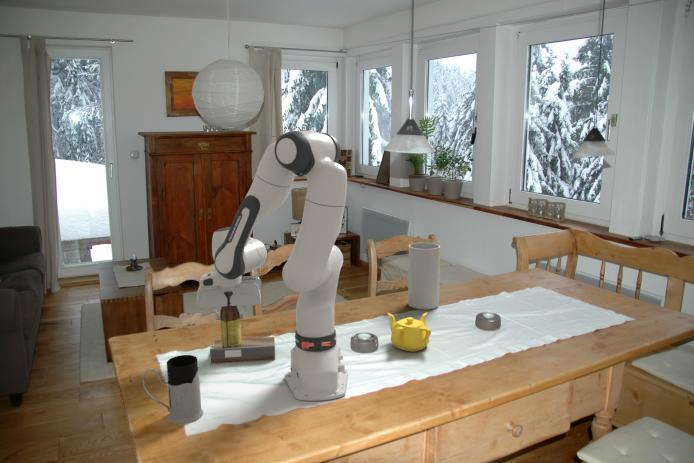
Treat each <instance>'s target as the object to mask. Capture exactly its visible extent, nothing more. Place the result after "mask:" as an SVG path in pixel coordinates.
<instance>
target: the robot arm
mask: <svg viewBox="0 0 694 463" xmlns="http://www.w3.org/2000/svg"><path fill="white" fill-rule="evenodd" d="M341 155H342V149H341V145H340V142H339V141H338V139H337V138H336V137H335V136H333V135H331V134H330V133H326V132H317V131H313V130H291V131H287V132H284V133H283V134H281V135H279V137H278V138H277V139H276V141H275V142H272V143H270V144H269V145H268V146H267V148H266V149H265V151H264V153H263V154H262V156H261V159H260V161H259V164H258V166H257V168H256V172H255V176H254V177H253V181H252V183H251V184H250V188H249V189H248V192H247V193H246V195H245V197H244V199H242V202H241V203H240V205H239V207H238V209H237V211H236V213H235V215H234V218H233V221H232V222H231V225H230V226H227V227H222V228H218V229H216V230H214V232H213V234H212V239H211V253H212V254H211V255H212V258H213V266H212V267H213V268H212V270H213V271H211V272H207V273H204V274H202V275H201V276H200V278H199V281H198V282H199V283H198V284H199V287H198V289H197V291H196V307H198V308H200V309H203V308H211V311H212V313H213V314H214V315H215V320H216V321H220V320H221V314H220V312H218V311H217V308H222V307H225V306H227V303H228V301H227V297H226V296H225V295H224V292H229V291H232V292H233V294H232V296H231V297H230V303H231V304H230V305H231V306H237V307H240V306H242V311H239V316H240V320H241V319H245V313H246V311H247V309H248V306H258V305H260V303H261V302H262V296H261V295H262V294H261V288H262V279H261V278H260V277H258V276H256V275H252V276H251V275H250V276H249V275H247V276H245V275H246V274H248V273H250V272H252V271H254V270H257V269H260V268H261V267H263V266H264V265H265V264H266V263H267V262H268V257H269V254H268V250H267V249H268V248H267V246H266V245H265V244H264V242H263V241H261V240H260V239H257V238H253V237H251V235H252V234H253V231H254V228H255V226H257V224H258V223H259V222H260V221H261V220H262V219H263V218H265V217H266V216H267V215H268V214H271V213H272V212H274V211H276V210H277V209H279V208H281V207H282V206H283V205H284V203H285V202H286V200H287V198H288V196H289V195H290V193H291V190H292V188H293V184H294V182H295V181H294V180H295V177H296V176H298V177H304V176H305V177H306V181H307V190H306V196H305V201H304V205H303V206H304V207H303V211H302V212H303V213H302V219H301V224H300V228H299V231H298V233H297V236H296V239H295V241H294V243H293V247H292V250H291V252H290V254H289V257H288V259H287V261H286V263H285V264H284V266H283V268H282V272H281V274H282V275H281V276H282V281H283V283H284V284H285V286H286V287H287V288H288V289H289V290H290V291H293V292H295V293H298V294H299V297H298V299H297V302H296V306H295V309H296V310H295V314H296V316H295V318H296V330H295V332H294V339H295V341H294V342H295V345H294V346H293V348H292V349H291V350H290V371H288V372H285V374H284V377H283V378H284V380H285V381H286V384H287V385H288V387H289V389H290V391H291V393H292V395H293V397H294V398H295V399H296V400H298V401H306V402H307V401H308V402H309V401H310V402H313V401H314V402H315V401H316V402H317V401H318V402H319V401H328V400H334V399H339V398H343V397H344V396H346V392H347V386H348V379H349V378H348V376H349V370H348V369H346V368H345V367H346V366H345V364H344V363H342V360H344V356H343V354H342V352H341V349H342V348H341V346H339V344H337V332H336V328H335V302H336V296H337V291H338V284H339V280H340V279H339V278H340V272H341V269H342V267H343V263H344V255H343V253H342V251H341V249H340V248H339V247H338V246H337V245H335V243H336V240H337V238H338V237H339V235H340V232H341V228H342V223H343V222H342V221H343V217H344V213H345V206H346V202H347V201H346V200H347V194H348V193H347V192H348V173H347V170H346V168H345V167H344V166H343V165H341V164H340V163H338V162H339V160H340V159H341ZM243 275H244V276H243Z"/></svg>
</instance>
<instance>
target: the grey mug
mask: <svg viewBox="0 0 694 463" xmlns="http://www.w3.org/2000/svg"><path fill="white" fill-rule="evenodd" d="M149 372H155V373H157V375H158V377H159V382H160V384H161V385H167V395H168V405H167V404H166V403H164V402H162V401H160V400H158V399H157V398H155V397H154V396H152V394H150V392H149V391H148V390H147V387H146V385H145V380H144V379H145V378H144V377H145V375H146V374H147V373H149ZM166 372H167V381H165V382H164V381H163V380H162V375H161V373H160V371H159V370H157V369H155V368H150V369H149V368H148V369H147V370H146V371H144V372H143V374H142V377H141V378H142V379H141V381H142V383H141V384H142V387H143V389H144V391H145V393H146V394H147V397H149V398H150V399H151V400H153V401H154V402H156V403H158V404H159V405H161V406H163V407H165V408H166V409H167V412H168V413H169V414H168V417H167V419H168V421H169V422H170V423H171V424H175V425H186V424H187V425H188V424H192V423H195V422H197V421H199V420H200V419H201V418H203V416H204V410H203V409H202V401H201V400H202V398H201V387H200V386H201V385H200V384H201V383H200V382H201V381H200V367H199V363H198V357H196V356H195V355H192V354H191V355H190V354H182V355H176V356H173V357H171V358H169V359H168V360H167V361H166Z"/></svg>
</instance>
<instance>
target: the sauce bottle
mask: <svg viewBox="0 0 694 463" xmlns="http://www.w3.org/2000/svg"><path fill="white" fill-rule="evenodd" d="M232 294H233V292H232V291H229V292H224V295H225V296H226V297H227V301H228V303H227V306H225V307H220V312H219V313H220V314H221V320H219V321H220V338H221V339H220V340H222V347H223V348H231V347H241V339H242V334H241V332H242V331H241V319H240V316H239V313H240V310H239V309H238V306H231V305H230V304H231V303H230V297H231V296H232Z"/></svg>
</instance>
